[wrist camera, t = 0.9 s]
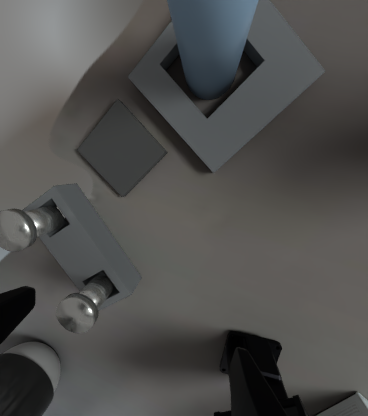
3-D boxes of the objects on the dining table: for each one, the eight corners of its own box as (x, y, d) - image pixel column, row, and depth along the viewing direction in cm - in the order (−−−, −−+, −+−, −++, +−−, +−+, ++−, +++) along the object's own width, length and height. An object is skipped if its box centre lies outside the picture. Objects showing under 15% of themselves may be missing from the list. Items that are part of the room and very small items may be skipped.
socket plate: (213, 172, 19) (213, 173, 17) (134, 84, 18) (127, 76, 16) (314, 80, 16) (325, 71, 14) (226, -31, 15) (228, -53, 14)
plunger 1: (67, 236, 19) (29, 255, 15) (37, 230, 19) (-9, 247, 15) (67, 204, 18) (26, 215, 14) (36, 198, 19) (-13, 207, 14)
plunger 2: (115, 302, 20) (92, 337, 16) (86, 295, 21) (56, 328, 16) (118, 275, 19) (93, 304, 15) (87, 268, 20) (55, 295, 16)
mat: (125, 196, 20) (122, 197, 20) (81, 150, 20) (76, 150, 19) (167, 152, 19) (165, 151, 18) (121, 101, 18) (117, 99, 18)
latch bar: (141, 277, 23) (131, 294, 19) (110, 293, 24) (95, 312, 21) (76, 183, 21) (54, 185, 18) (46, 205, 22) (19, 211, 19)
